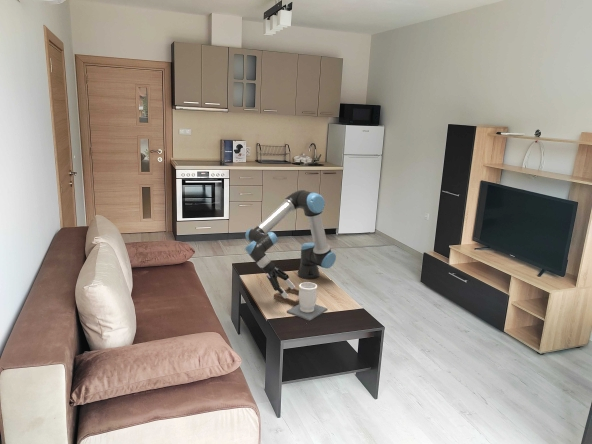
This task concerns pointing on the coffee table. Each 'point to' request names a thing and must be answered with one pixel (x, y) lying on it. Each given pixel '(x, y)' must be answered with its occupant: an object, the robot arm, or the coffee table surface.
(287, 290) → the collar
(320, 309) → the board
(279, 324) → the coffee table surface
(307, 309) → the jar
